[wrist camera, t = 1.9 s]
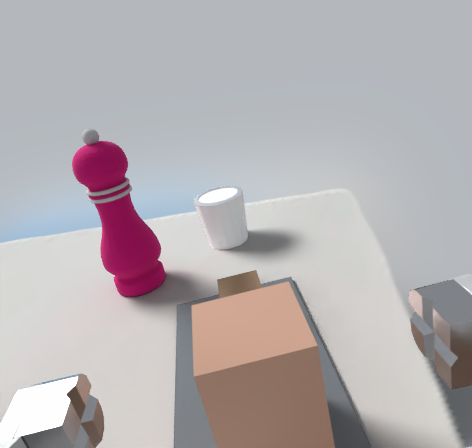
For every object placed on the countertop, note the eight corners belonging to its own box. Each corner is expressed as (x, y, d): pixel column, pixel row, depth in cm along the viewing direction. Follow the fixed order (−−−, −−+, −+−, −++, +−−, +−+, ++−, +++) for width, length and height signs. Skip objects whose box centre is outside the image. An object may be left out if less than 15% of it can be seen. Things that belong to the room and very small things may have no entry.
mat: (385, 481, 25) (385, 476, 25) (173, 536, 25) (171, 532, 25) (291, 279, 47) (290, 276, 47) (178, 307, 47) (177, 305, 47)
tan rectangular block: (234, 500, 26) (193, 376, 22) (224, 414, 32) (191, 305, 28) (339, 472, 26) (317, 345, 22) (309, 392, 32) (288, 281, 28)
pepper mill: (170, 262, 58) (124, 116, 50) (169, 290, 51) (115, 126, 43) (118, 276, 57) (63, 131, 49) (110, 305, 51) (45, 143, 43)
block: (229, 336, 40) (220, 301, 38) (225, 312, 44) (217, 279, 42) (270, 326, 40) (263, 291, 38) (263, 303, 44) (256, 270, 42)
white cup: (227, 256, 56) (215, 208, 53) (195, 246, 61) (183, 201, 58) (262, 233, 60) (252, 187, 57) (229, 226, 65) (219, 183, 62)
